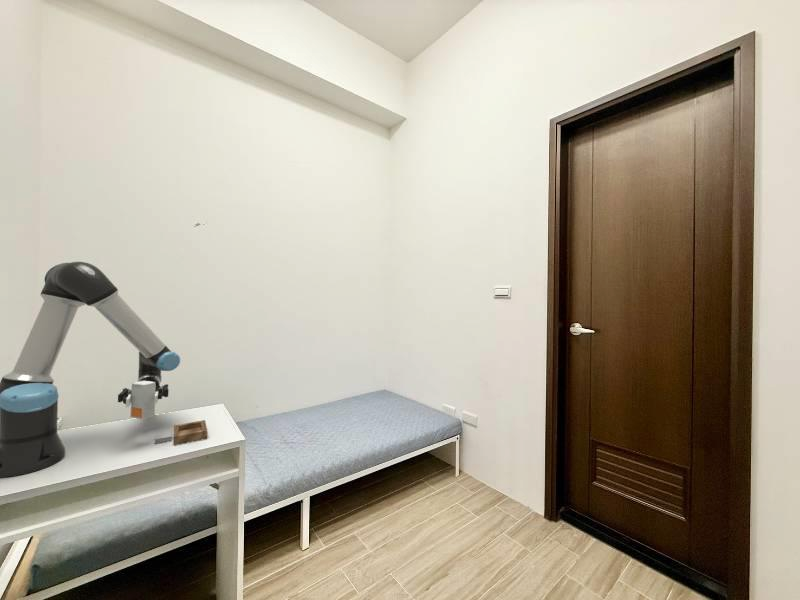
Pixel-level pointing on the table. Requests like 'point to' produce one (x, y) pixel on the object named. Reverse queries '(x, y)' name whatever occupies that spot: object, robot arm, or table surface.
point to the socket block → (190, 432)
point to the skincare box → (143, 399)
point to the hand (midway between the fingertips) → (141, 401)
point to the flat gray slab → (163, 440)
